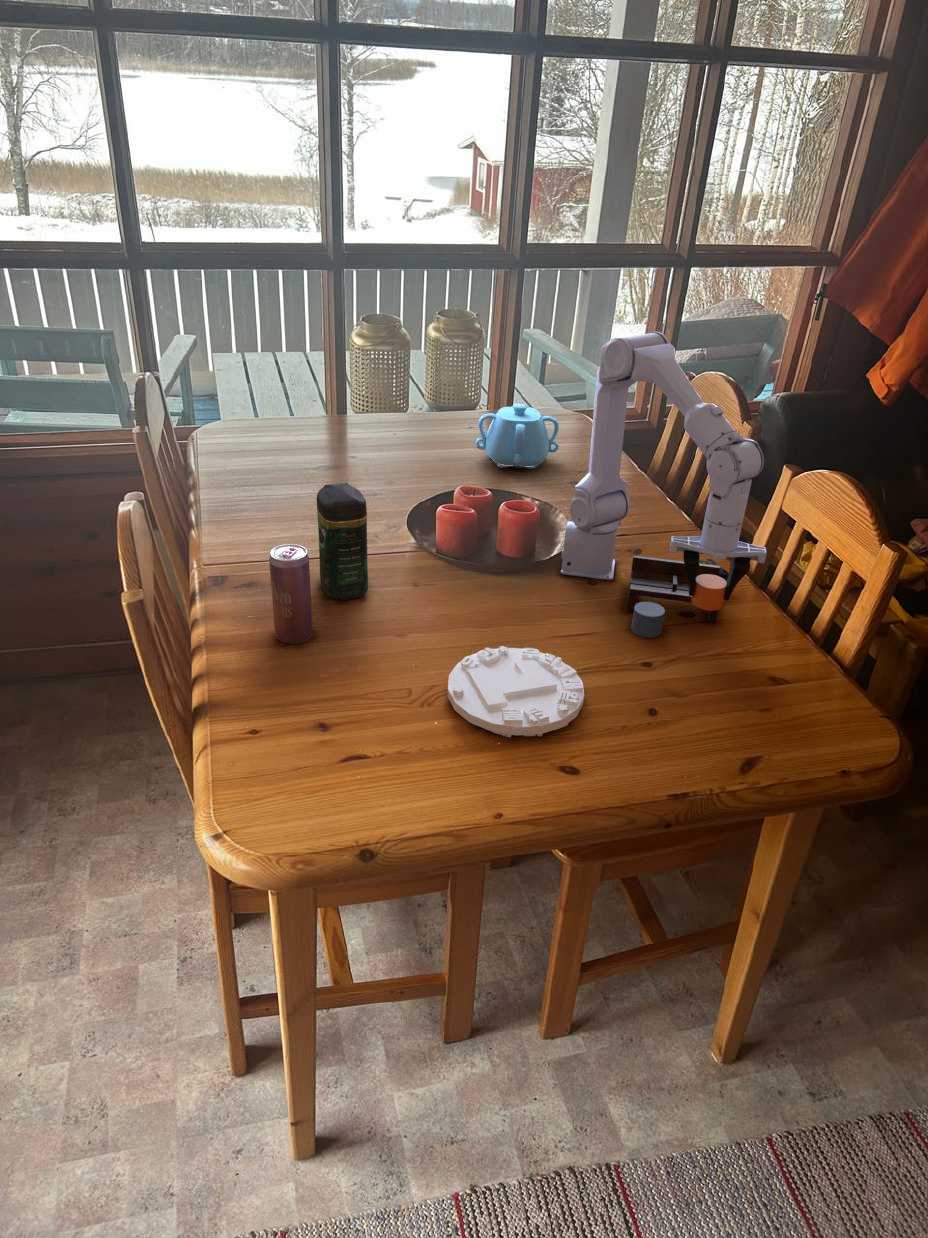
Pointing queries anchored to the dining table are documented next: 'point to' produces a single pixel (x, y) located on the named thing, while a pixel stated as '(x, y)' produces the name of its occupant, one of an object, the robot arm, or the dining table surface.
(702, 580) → the orange squat cylinder
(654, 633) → the grey squat cylinder
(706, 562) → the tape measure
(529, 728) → the white flat round disc
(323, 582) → the coffee jar
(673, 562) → the rack
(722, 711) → the dining table surface
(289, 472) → the dining table surface
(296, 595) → the beverage can
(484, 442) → the decorative pot
